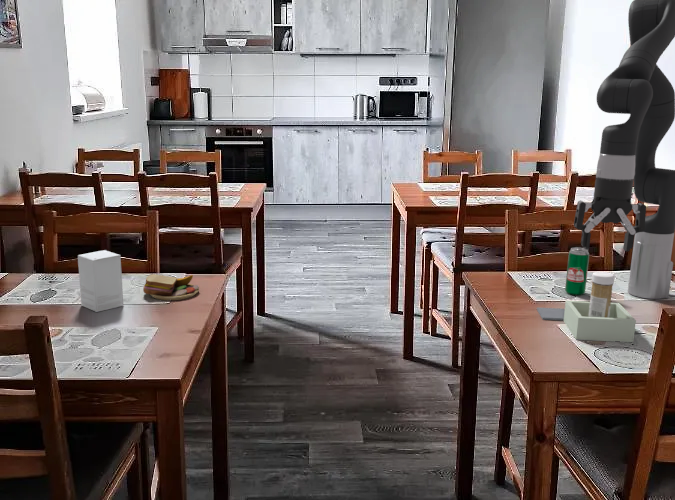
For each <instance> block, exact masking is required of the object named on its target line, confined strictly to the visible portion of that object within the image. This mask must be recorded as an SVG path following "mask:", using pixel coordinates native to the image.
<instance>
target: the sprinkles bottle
mask: <svg viewBox="0 0 675 500" xmlns="http://www.w3.org/2000/svg"><path fill="white" fill-rule="evenodd" d="M614 283H615V274H613V273H610V272H606V271H594V272H592V277H591V292H590V300H589V302H590V306H589V317H605V318H609V316H610V307H611V306H610V304H611V303H612V295H613V294H612V293H613V286H614Z"/></svg>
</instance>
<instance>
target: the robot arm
mask: <svg viewBox="0 0 675 500" xmlns="http://www.w3.org/2000/svg"><path fill="white" fill-rule="evenodd" d="M627 20H628V34H629V42H630V46H629V47H628V48H627V50H626V51H625V53H624V54H623V56H622V58H621V60H620V62H619V64H618V67H616V68H615V69H614V70H613V71H612V72H611V73H610V74H609V75H608V76H607V77H606V78H604V80H602V82H601V84H600V86H599V88H598V90H597V93H596V104H597V106H598V108H599V109H600V110H601V111H602V112H604V113H608V114H621V115H622V114H624V115H625V114H626V115H629V117H628V119H627V120H626V121H625V122H623V123H620V124H612V125H608V126H605V127H604V128H603V130H602V131H601V141H600V150H599V155H598V161H597V165H596V172H595V173H596V174H595V181H594V192H593V198H592V201H591V202H587V201H583V200H578V201H577V205H576V209H575V216H574V221H573V227H574V228H576V229H577V230H579V231H581V239H580V245H581V246H582V248H584V249H585V250H588V251H589V249H590V244H591V243H590V242H591V236H592V233H591V231H592V230H593V229H594V228H595V227H596V226H598V224H600V223H603V224H607V223H611V224H612V223H613V224H619V223H621V225H622V226H623V228H624V229H625V231H626V232H625V233H624V239H623V246H622V247H623V251H625V252H630V250H631V249H632V255H631V261H630V262H631V263H630V271H629V278H628V287H627V292H628V294H630V295H632V296H634V297H638V298H643V299H652V300H653V299H654V300H656V299H657V300H658V299H668V298H669V297H670V290H671V289H670V288H671V283H672V275H673V267H674V262H673V261H672V253H673V247H674V246H673V244H674V239H675V169H668V168H662V167H661V168H660V167H656V154H657V153H656V152H657V149H658V147H659V145H660V144H661V141H662V140H663V139H664V137H665V136H666V134H667V133H668V131H669V130H670V129H671V127H672V125H673V123H674V121H675V89H674V87H673V85H672V83H671V81H670V80H669V78H667V76H666V75H665V73H664V72H663V71H662V70H661V68H660V67H659V66H658V64H657V63H658V61H659V59H660V58H661V56H662V55H663V53H664V52H665V51H666V50H667V49H668V47H669V45H671V43H672V41H673V40H674V39H675V0H633V1H631V3H630V6H629V8H628V19H627ZM633 192H634V196H635V198H636V199H637V201H638V203H632V195H633ZM643 203H644V204H643ZM645 204H650V205H658V208H657V211H656V213H653V214H651V215H650V214H649V215H647V206H646V205H645ZM589 209H591V211H592V212H593V213H592V214H591V215H590V217H588V219H587V220H586V222H585V223H584V217H585V213H587V212H588V210H589ZM632 210H633V213H634V214H635V225H633V224H632V222H631V221H630V219H629V218H628V215H629V214H630V212H631V211H632ZM583 223H584V224H583Z"/></svg>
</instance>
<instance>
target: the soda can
mask: <svg viewBox="0 0 675 500" xmlns="http://www.w3.org/2000/svg"><path fill="white" fill-rule="evenodd" d="M589 262H590V253H589V250H585V249H584V247H580V246H579V247H577V246H575V247H571V248H570V250H569V252H568V259H567V266H566V267H567V268H566V278H565V287H564V291H565V292H566V294H568V295H571V296H583V295H584V294H586V289H587V279H588V270H589Z"/></svg>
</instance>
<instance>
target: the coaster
mask: <svg viewBox="0 0 675 500" xmlns="http://www.w3.org/2000/svg"><path fill="white" fill-rule="evenodd" d="M536 310H537V312H538V315H539V316H540V318H541V320H543V321H545V320H546V321H563V322H564V312H565V308H561V307H560V308H555V307H536Z"/></svg>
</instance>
